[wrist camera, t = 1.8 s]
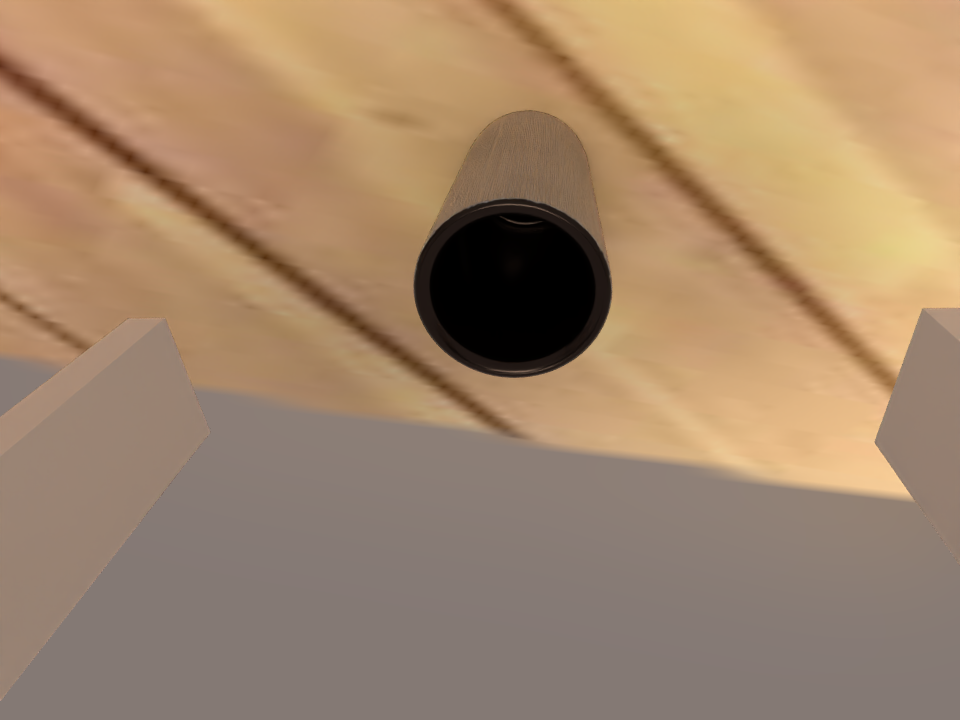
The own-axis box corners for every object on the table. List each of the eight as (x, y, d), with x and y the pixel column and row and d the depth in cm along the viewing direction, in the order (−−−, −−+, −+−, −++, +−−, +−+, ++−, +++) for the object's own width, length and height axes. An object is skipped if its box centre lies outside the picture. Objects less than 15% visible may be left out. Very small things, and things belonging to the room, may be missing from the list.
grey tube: (443, 187, 23) (376, 313, 14) (513, 81, 20) (486, 153, 12) (537, 254, 24) (529, 410, 15) (614, 161, 21) (657, 280, 13)
